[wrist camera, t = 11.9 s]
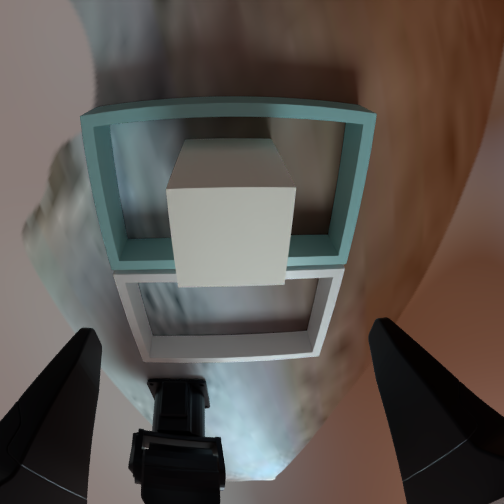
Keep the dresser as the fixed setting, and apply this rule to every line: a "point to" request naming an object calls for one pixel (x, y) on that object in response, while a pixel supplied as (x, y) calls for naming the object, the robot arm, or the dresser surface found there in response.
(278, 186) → the cream block
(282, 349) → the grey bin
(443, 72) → the dresser surface
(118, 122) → the teal bin
